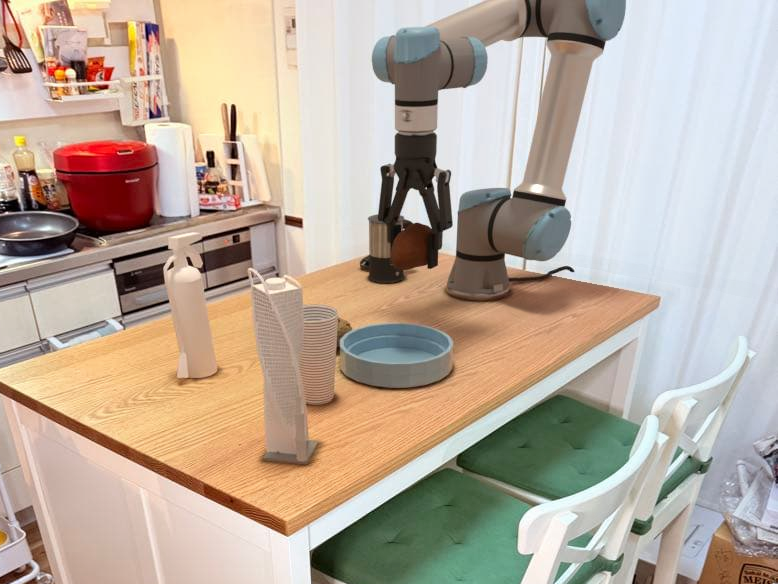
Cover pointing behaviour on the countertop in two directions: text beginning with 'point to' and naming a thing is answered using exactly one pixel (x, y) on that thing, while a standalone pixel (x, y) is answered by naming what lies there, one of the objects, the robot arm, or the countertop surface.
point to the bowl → (396, 355)
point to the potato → (411, 247)
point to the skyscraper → (281, 367)
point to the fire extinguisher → (189, 309)
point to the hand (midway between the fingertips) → (413, 263)
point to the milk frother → (381, 252)
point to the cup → (319, 353)
